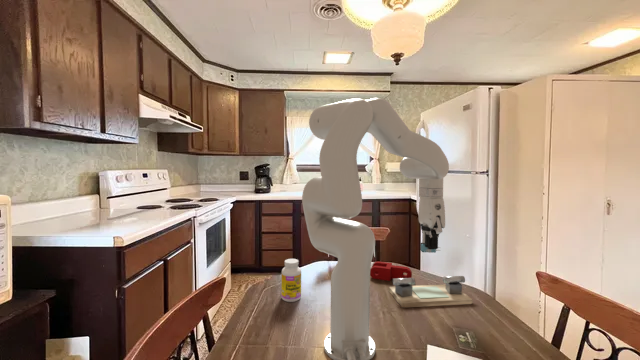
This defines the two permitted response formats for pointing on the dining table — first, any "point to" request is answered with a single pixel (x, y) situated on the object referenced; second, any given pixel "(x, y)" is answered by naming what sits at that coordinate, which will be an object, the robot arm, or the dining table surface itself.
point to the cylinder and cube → (405, 287)
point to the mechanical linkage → (389, 271)
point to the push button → (426, 239)
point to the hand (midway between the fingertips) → (429, 246)
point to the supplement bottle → (291, 281)
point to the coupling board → (430, 297)
